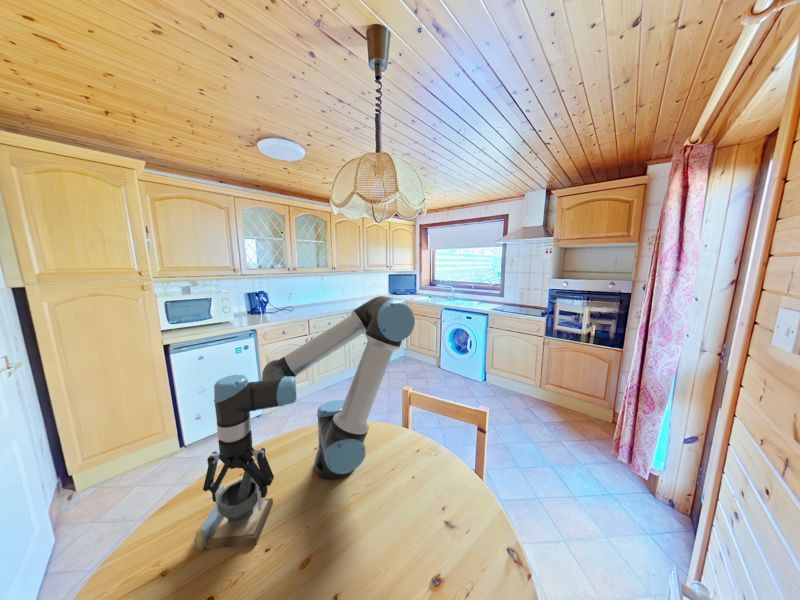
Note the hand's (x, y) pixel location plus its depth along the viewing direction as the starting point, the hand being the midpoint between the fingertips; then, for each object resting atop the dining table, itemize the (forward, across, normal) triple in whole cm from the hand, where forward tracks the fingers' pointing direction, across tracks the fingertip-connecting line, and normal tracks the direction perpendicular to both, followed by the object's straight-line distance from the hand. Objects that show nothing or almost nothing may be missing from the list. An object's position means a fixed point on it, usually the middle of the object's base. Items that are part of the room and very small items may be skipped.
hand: (241, 508), depth 75 cm
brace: (+5, +8, +1) cm, 9 cm away
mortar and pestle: (+1, 0, 0) cm, 2 cm away
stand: (+5, 0, 0) cm, 5 cm away
